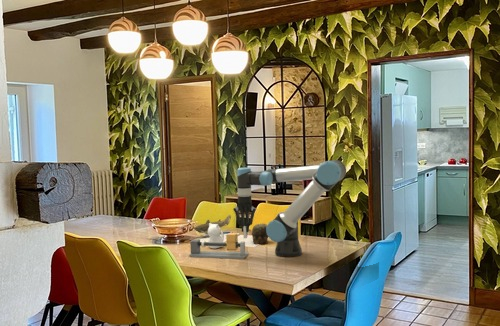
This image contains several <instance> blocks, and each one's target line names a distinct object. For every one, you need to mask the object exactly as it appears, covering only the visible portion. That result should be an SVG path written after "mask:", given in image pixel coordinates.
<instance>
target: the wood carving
mask: <svg viewBox="0 0 500 326" xmlns="http://www.w3.org/2000/svg"><path fill="white" fill-rule="evenodd" d="M231 218H232V215H231V214H228V215H227V217H226V218H225V219H224V220H221V219H219V220H218V221H212V222H211V221H210V219H207V220H206V222H205V223H203V224H201V223H200V224H199V225H197V226H195V227H193V229H194V230H195V231H196V232H197V233H199V234H203V233H204V234H205V236H207V237H210V236H209V235H208V228H209V223H211V224H218V226H219V227H220V229H221V228H223V227H225V226H228V225H229V224H230V221H231Z"/></svg>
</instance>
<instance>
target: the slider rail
mask: <svg viewBox="0 0 500 326" xmlns="http://www.w3.org/2000/svg"><path fill="white" fill-rule="evenodd" d="M189 246H190V254H189V255H188V257H189V258H207V259H208V258H212V259H213V258H214V259H232V260H233V259H237V260H244V259H246V257H248V256H249V252H246V241H240V242H238V243H236V247H238V248H239V249H240V250H239V251H221V250H220V251H219V250H218V251H215V250H201V247H202V248H206V247H209V246H222V247H227V242H223V243H216V242H208V241H206V240H205V239H204V240H201V239H196V238H193V239H192V240H190V245H189Z"/></svg>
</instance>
